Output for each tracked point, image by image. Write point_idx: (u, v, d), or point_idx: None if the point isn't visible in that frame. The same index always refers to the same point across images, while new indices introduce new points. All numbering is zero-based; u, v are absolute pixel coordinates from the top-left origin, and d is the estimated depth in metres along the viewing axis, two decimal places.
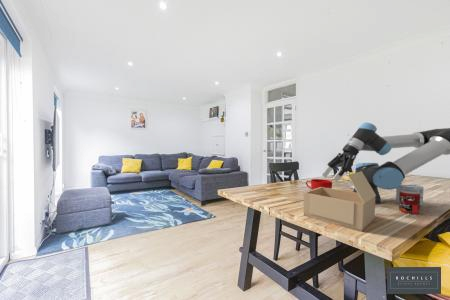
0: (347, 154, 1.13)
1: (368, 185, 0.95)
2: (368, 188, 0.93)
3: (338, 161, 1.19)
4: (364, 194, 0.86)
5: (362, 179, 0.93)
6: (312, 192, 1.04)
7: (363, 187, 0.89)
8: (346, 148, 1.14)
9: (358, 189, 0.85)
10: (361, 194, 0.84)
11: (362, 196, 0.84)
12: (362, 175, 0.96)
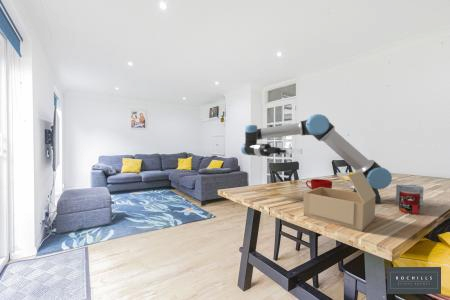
0: None
1: (368, 185, 0.95)
2: (368, 188, 0.93)
3: (280, 150, 1.23)
4: (364, 194, 0.86)
5: (362, 179, 0.93)
6: (312, 192, 1.04)
7: (363, 187, 0.89)
8: (265, 155, 1.25)
9: (358, 189, 0.85)
10: (361, 194, 0.84)
11: (362, 196, 0.84)
12: (362, 175, 0.96)
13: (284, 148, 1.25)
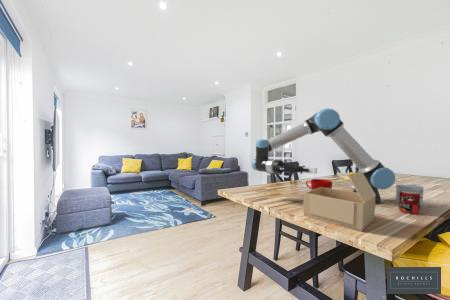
0: None
1: (368, 185, 0.95)
2: (368, 188, 0.93)
3: None
4: (364, 194, 0.86)
5: (362, 179, 0.93)
6: (312, 192, 1.04)
7: (363, 187, 0.89)
8: (278, 173, 1.17)
9: (358, 189, 0.85)
10: (361, 194, 0.84)
11: (362, 196, 0.84)
12: (362, 175, 0.96)
13: None
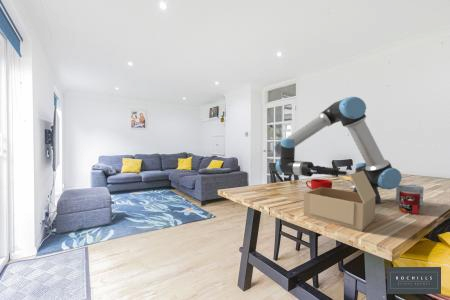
0: (311, 172, 1.03)
1: (369, 185, 0.94)
2: (369, 188, 0.93)
3: None
4: (364, 194, 0.86)
5: (363, 179, 0.93)
6: (312, 192, 1.04)
7: (363, 187, 0.89)
8: (307, 175, 1.06)
9: (359, 189, 0.84)
10: (362, 194, 0.84)
11: (362, 196, 0.83)
12: (363, 175, 0.96)
13: None
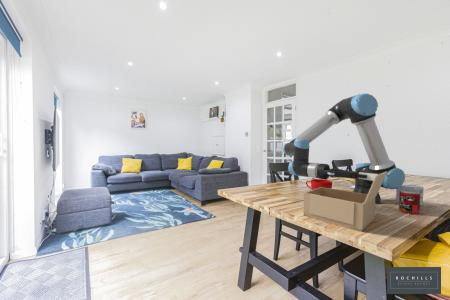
0: (328, 174, 0.97)
1: (379, 186, 0.92)
2: (377, 189, 0.91)
3: None
4: (370, 195, 0.84)
5: (381, 180, 0.89)
6: (312, 192, 1.04)
7: (375, 188, 0.86)
8: (323, 178, 1.00)
9: (371, 191, 0.81)
10: (369, 195, 0.82)
11: (368, 197, 0.82)
12: (384, 176, 0.90)
13: None
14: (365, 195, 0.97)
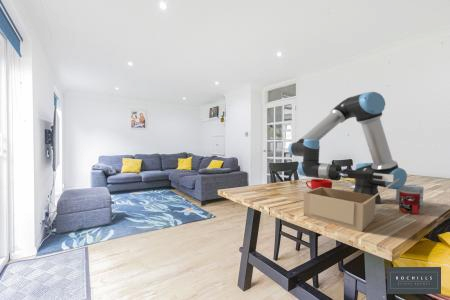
0: (340, 175, 0.94)
1: None
2: None
3: None
4: None
5: (389, 186, 0.86)
6: (312, 192, 1.04)
7: None
8: (335, 179, 0.96)
9: None
10: None
11: (370, 199, 0.81)
12: None
13: (361, 171, 0.93)
14: (365, 195, 0.97)
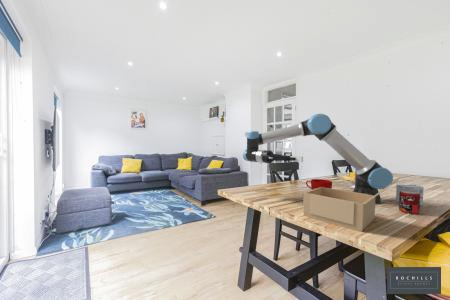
0: None
1: None
2: None
3: None
4: None
5: (389, 186, 0.86)
6: (312, 192, 1.04)
7: None
8: (267, 162, 1.23)
9: None
10: None
11: (370, 199, 0.81)
12: None
13: None
14: (365, 195, 0.97)
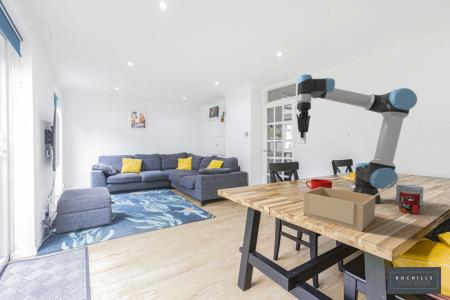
0: None
1: None
2: None
3: None
4: None
5: (389, 186, 0.86)
6: (312, 192, 1.04)
7: None
8: (297, 108, 1.22)
9: None
10: None
11: (370, 199, 0.81)
12: None
13: (308, 123, 1.23)
14: (365, 195, 0.97)
